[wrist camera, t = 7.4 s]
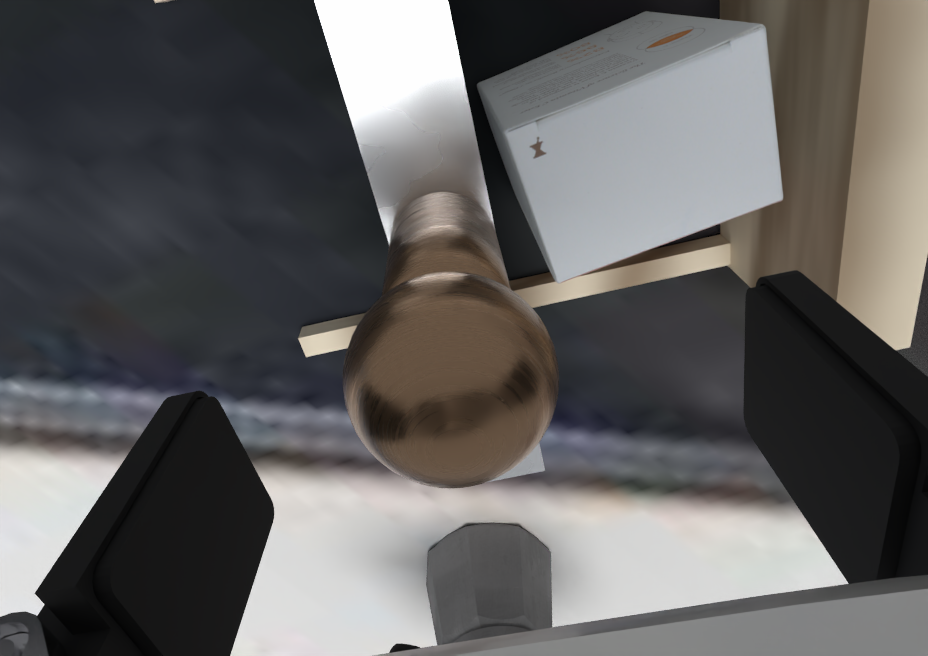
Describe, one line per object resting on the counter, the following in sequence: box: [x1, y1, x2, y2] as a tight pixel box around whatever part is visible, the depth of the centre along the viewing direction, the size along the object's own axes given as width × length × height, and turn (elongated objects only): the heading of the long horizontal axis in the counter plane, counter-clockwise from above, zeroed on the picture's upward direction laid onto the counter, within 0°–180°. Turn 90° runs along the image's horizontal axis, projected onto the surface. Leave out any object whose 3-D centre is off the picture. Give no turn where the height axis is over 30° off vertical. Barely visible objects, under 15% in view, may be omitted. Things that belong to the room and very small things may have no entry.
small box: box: [477, 11, 783, 284], centre depth 23 cm, size 8×6×10 cm
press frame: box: [154, 0, 928, 357], centre depth 23 cm, size 26×19×10 cm
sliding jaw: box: [314, 0, 559, 488], centre depth 18 cm, size 4×19×20 cm, turn 12°
